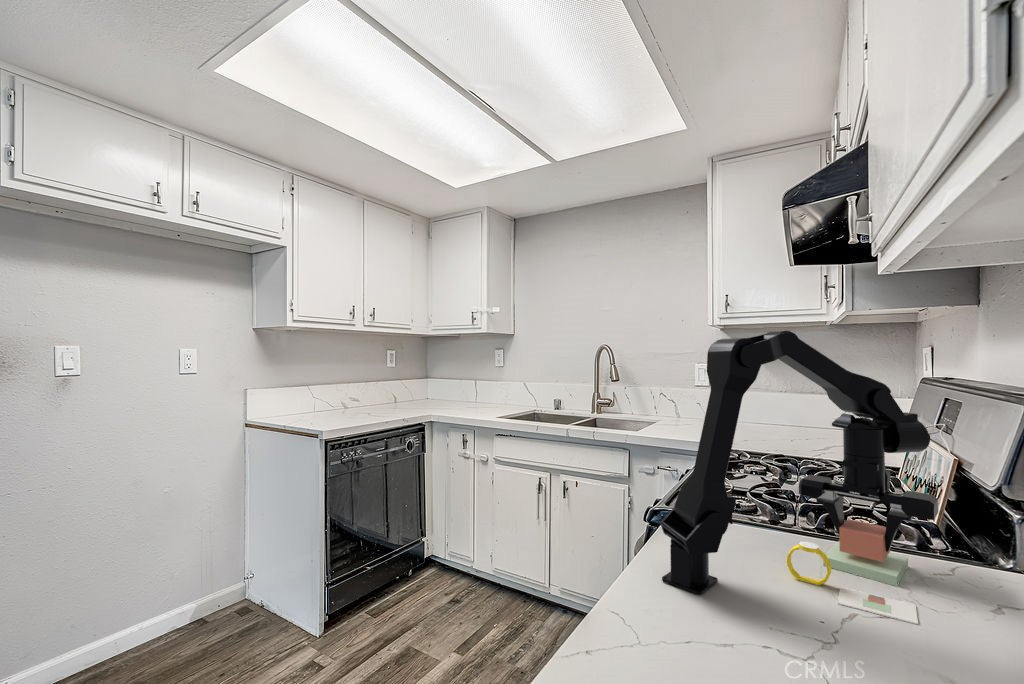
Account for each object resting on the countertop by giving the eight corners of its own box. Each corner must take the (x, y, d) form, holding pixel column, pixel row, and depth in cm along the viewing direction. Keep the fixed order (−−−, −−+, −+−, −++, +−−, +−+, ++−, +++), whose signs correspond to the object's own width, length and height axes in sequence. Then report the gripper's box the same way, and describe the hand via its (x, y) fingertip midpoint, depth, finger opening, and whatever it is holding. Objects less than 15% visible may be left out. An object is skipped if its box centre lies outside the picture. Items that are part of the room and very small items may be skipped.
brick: (883, 562, 79) (882, 537, 79) (839, 551, 83) (839, 527, 83) (890, 551, 83) (889, 528, 83) (848, 541, 87) (848, 519, 87)
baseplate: (896, 586, 76) (896, 576, 76) (823, 565, 83) (823, 556, 83) (908, 566, 83) (907, 557, 83) (839, 548, 90) (838, 540, 90)
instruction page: (918, 624, 65) (918, 623, 65) (837, 603, 71) (837, 602, 71) (915, 605, 70) (915, 604, 70) (840, 587, 75) (840, 586, 75)
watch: (830, 585, 77) (833, 548, 77) (828, 592, 75) (831, 554, 75) (788, 571, 81) (790, 536, 81) (784, 577, 79) (787, 541, 78)
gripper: (941, 455, 82) (943, 548, 82) (815, 440, 95) (816, 520, 95) (932, 466, 74) (934, 569, 74) (797, 448, 88) (798, 535, 88)
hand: (864, 545), depth 83 cm, fingers closed on brick, 6 cm apart
